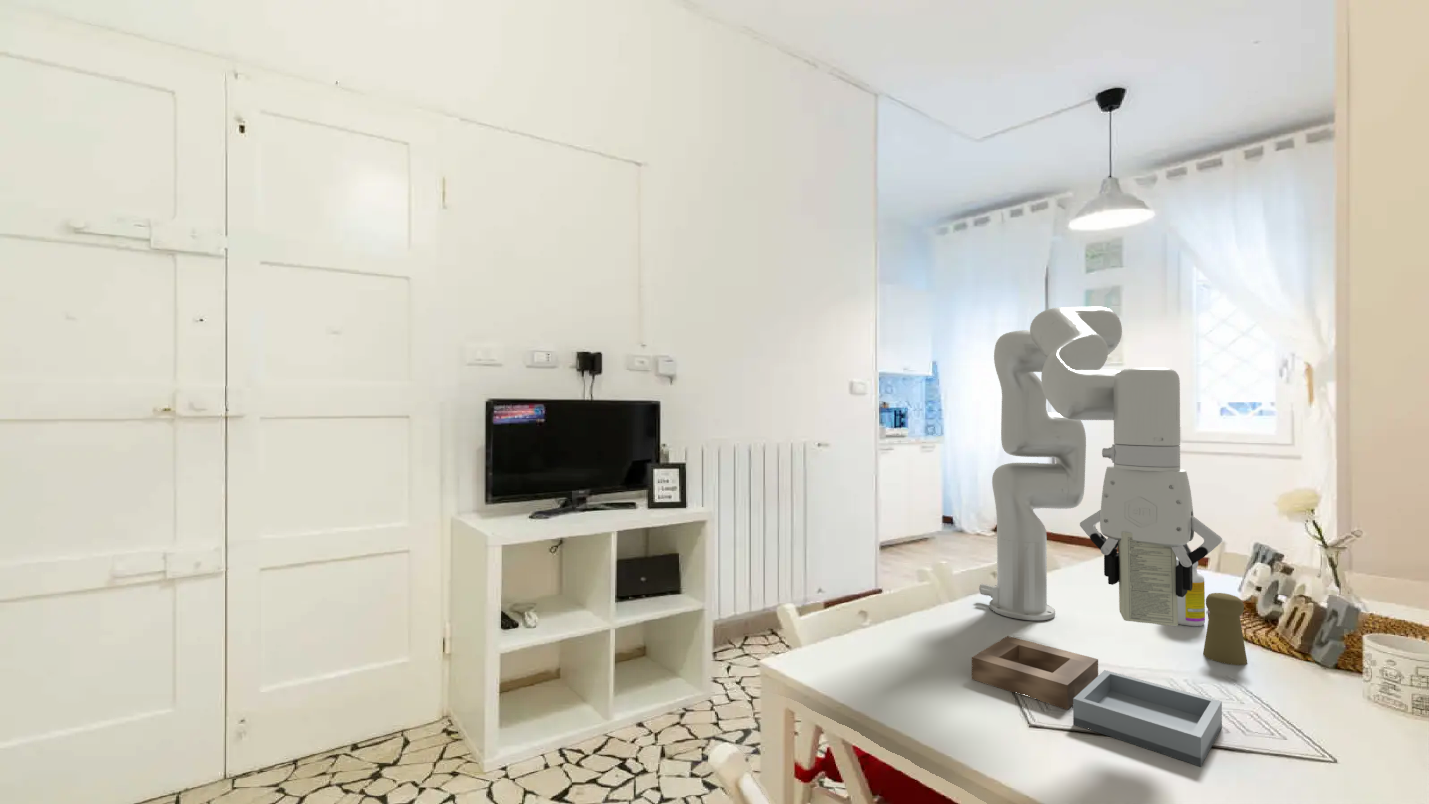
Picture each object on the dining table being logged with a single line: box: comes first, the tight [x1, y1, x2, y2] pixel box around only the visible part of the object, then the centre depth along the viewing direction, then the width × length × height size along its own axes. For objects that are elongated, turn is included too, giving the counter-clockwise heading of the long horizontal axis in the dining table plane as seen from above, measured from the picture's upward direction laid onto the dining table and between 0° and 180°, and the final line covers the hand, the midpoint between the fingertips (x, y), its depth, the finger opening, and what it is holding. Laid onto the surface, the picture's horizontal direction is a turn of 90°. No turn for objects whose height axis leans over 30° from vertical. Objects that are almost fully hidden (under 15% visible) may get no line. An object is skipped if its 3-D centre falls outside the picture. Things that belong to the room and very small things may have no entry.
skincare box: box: [1117, 532, 1179, 627], centre depth 86 cm, size 6×4×12 cm
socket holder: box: [971, 635, 1099, 711], centre depth 100 cm, size 14×14×4 cm
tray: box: [1072, 669, 1223, 767], centre depth 86 cm, size 14×14×4 cm
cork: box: [1202, 592, 1248, 666], centre depth 110 cm, size 6×6×11 cm
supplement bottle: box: [1176, 556, 1206, 627], centre depth 129 cm, size 7×7×13 cm
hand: (1146, 587), depth 86 cm, fingers closed on skincare box, 7 cm apart
